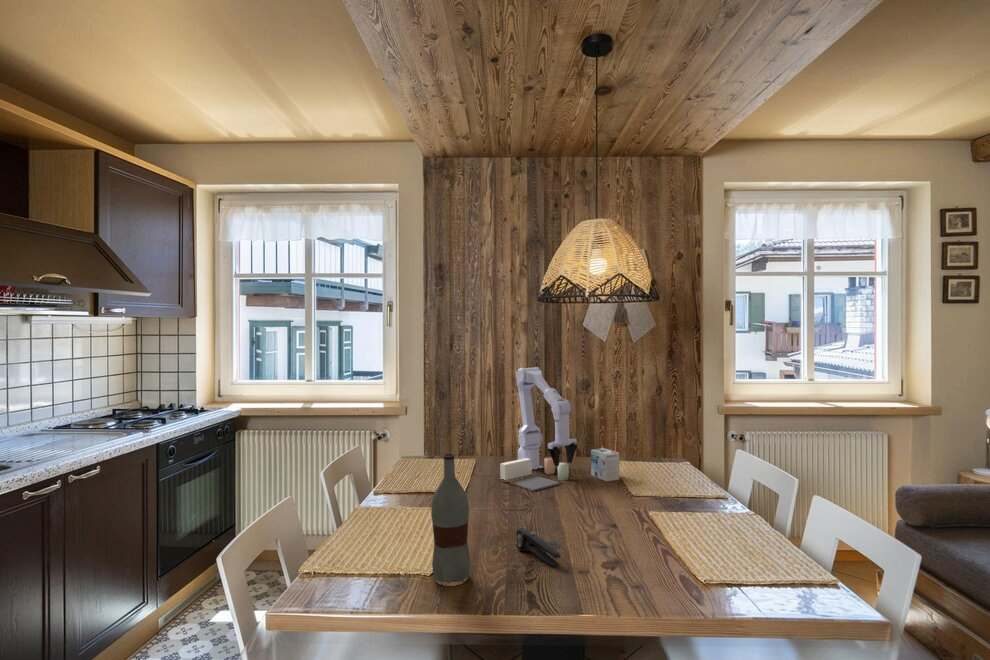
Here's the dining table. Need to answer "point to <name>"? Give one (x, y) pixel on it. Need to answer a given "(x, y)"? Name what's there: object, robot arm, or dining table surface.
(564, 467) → the sage part
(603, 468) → the light bulb box
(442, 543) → the bottle
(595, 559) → the dining table surface
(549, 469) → the terracotta part
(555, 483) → the pad
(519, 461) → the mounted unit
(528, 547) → the can opener
